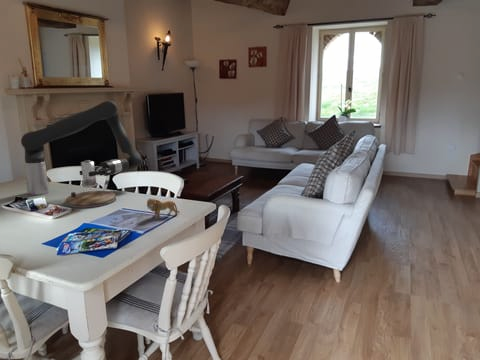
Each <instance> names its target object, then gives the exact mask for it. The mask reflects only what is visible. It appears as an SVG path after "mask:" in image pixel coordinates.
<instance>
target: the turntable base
mask: <svg viewBox="0 0 480 360" xmlns="http://www.w3.org/2000/svg"><path fill="white" fill-rule="evenodd" d="M116 201H117V196H116V195H115V198H114V199H113V200H111V201H109V202H106V203H102V204H97V205H89V206H75V205H70V204H67V203H66V200H65V201H64V203H65V206H66V207H69V208H73V209H91V208H92V209H94V208H99V207H104V206H107V205H110V204H112V203H114V202H116Z"/></svg>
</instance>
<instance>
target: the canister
mask: <svg viewBox="0 0 480 360" xmlns="http://www.w3.org/2000/svg"><path fill="white" fill-rule="evenodd" d="M80 166H81V171H82V175H81V176H82V181H83V184H82V187H83V188H94V187H97V186H98V182H97V175H95V176H92V177H89V172H92V171H95V167H96V166H95V161H93V160H90V159H88V160H87V159H86V160H84V161H81V162H80Z"/></svg>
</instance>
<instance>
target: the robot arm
mask: <svg viewBox="0 0 480 360" xmlns="http://www.w3.org/2000/svg"><path fill="white" fill-rule="evenodd" d="M101 120H106V122H107V124H108V125H109V127H110V129H111V131H112V133H113V135H114V138H115V141H116V143H117V145H118V148H119V150H120V151H121V153H122V154H124V155H125V154H127V155H128V156H127V157H126V158H124V157H123V158H116V159H110V160H109V159H108V160H105V161H101V162H100V164H99V165H96V166H95V171H92V172H89V177H92V176H95V175H96V177H98V176H100V177H101V176H104V177H107V176H111V175H115V174H119V173H121V172H124V171H129V170H134V169H136V168H139V167H141V166H142V165H143V157H142V155H141V154H140V153H139V152H138V150H137V149H136V148H135V147H134V145H133V143H132V140H131V139H130V136H129V135H128V133H127V131H126V129H125V127H124V126H123V124H122V121H121V119H120V116H119V111H118V106H117V104H116V103H115V102H113V101H112V100H104V101H102V102H101V103H98V104H97V105H95V106H93V107H91V108H88V109H86V110H83V111H79V112H77V113H74V114H70V115H68V116H65V117H63V118H61V119H59V120H57V121H55V122H54V123H52V124H50V125H48V126H46V127H44V128H41V129H37V130H35V131H34V130H30V131H27V132H26V133H24V134H23V135H22V137H21V140H20V144H21V146H22V147H23V148H24V163H25V169H26V176H25V183H26V190H27V194H28V195H32V196H39V195H44V194H48V193H49V192H50V190H49V183H48V174H47V167H46V160H45V159H46V158H45V156H46V155H45V154H46V153H45V146H44V145H47V144H49V143H50V142H52V141H53V142H54V141H55V140H58V139H61V138H64V137H68V136H71V135H74V134H76V133H78V132H80V131H83V130H84V129H86V128H87V127H89V126H90V125H92V124H95V122H99V121H101ZM79 175H80V176H82V170H79Z"/></svg>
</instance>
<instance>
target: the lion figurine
mask: <svg viewBox="0 0 480 360" xmlns="http://www.w3.org/2000/svg"><path fill="white" fill-rule="evenodd" d="M146 207H147V209H148V210H151V212H154V215H153V217H156V219H159V218H160V217H161V216H160V213H161V211H166V210H167V209H168V210H169V212H167V215H171V214H172V212H174V216H175V217H176V216H178V213H180V211H179V210H178V206H177V205H176V203H175V202H174V201H172V200H167V201H160V200H158V199H155V198H153V197H152V198H148V199H147V201H146Z"/></svg>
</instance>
